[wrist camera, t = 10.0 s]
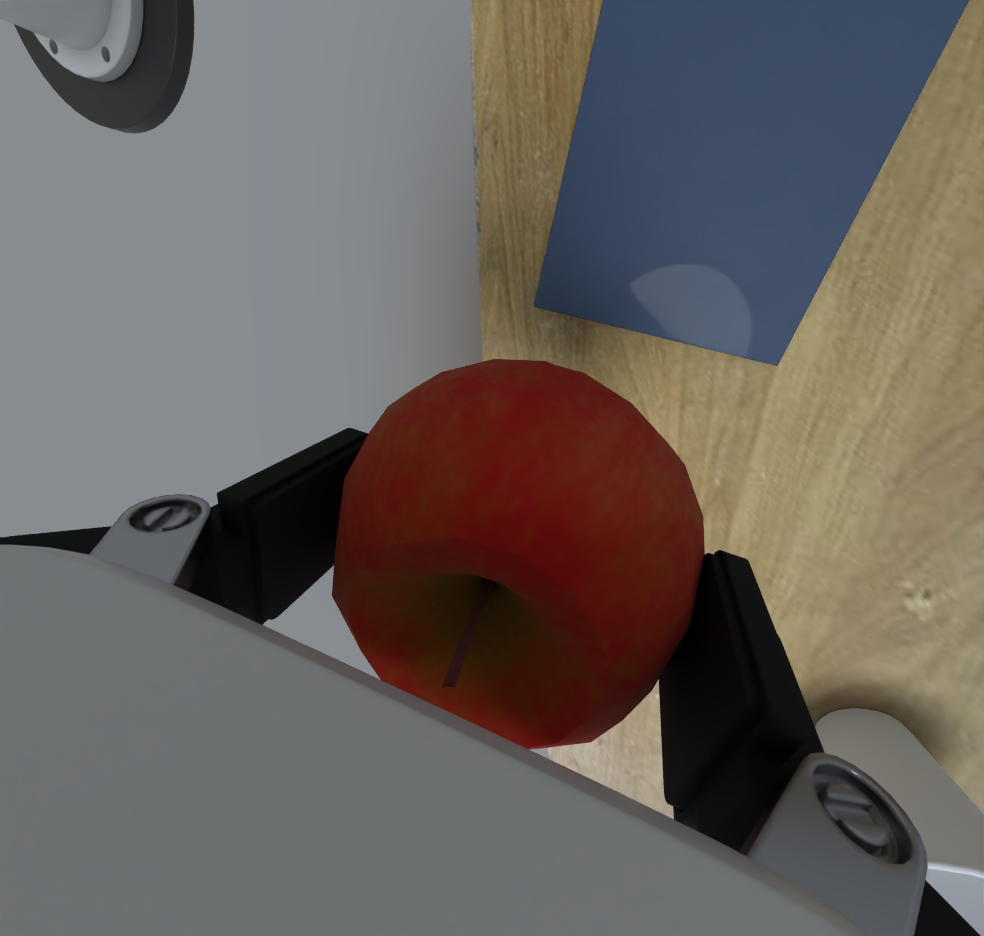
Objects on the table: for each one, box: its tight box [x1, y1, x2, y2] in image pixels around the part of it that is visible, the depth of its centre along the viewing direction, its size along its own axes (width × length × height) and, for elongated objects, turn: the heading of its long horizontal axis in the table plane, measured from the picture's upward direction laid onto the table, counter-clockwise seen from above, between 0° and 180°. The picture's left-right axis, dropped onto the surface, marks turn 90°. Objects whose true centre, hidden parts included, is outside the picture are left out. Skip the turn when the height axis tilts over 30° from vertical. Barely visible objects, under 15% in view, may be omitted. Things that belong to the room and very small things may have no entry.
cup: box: [815, 708, 984, 936], centre depth 31 cm, size 12×12×12 cm
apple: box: [332, 359, 705, 749], centre depth 11 cm, size 9×8×11 cm
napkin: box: [534, 0, 969, 366], centre depth 24 cm, size 17×20×1 cm
